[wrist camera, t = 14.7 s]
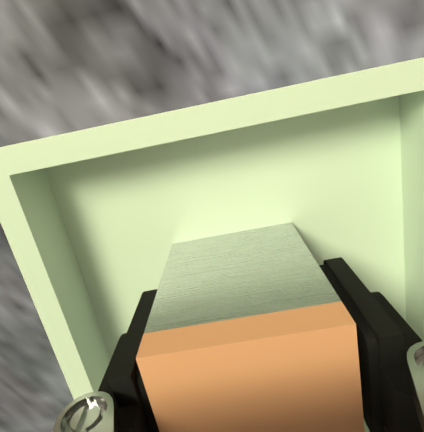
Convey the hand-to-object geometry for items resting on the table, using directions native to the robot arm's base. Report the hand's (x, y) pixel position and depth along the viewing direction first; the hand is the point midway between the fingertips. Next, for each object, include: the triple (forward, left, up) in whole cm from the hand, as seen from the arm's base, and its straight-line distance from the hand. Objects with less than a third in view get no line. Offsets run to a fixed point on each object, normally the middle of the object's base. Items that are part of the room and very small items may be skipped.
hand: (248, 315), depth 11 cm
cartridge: (0, 0, -2) cm, 2 cm away
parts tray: (0, 0, -2) cm, 2 cm away
